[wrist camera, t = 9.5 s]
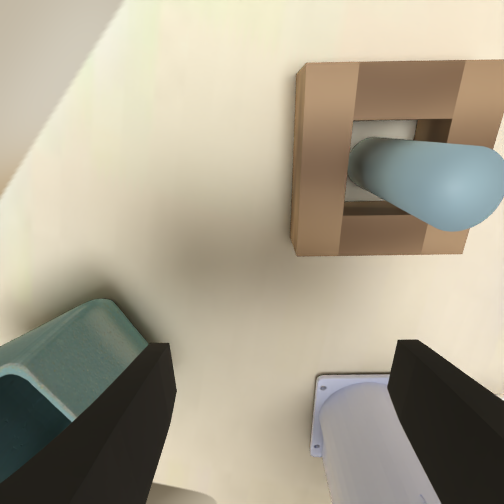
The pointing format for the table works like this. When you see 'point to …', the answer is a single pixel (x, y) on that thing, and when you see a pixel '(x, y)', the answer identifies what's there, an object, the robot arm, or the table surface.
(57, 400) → the flower pot
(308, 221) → the open cardboard frame
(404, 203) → the blue-gray dowel
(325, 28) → the table surface
